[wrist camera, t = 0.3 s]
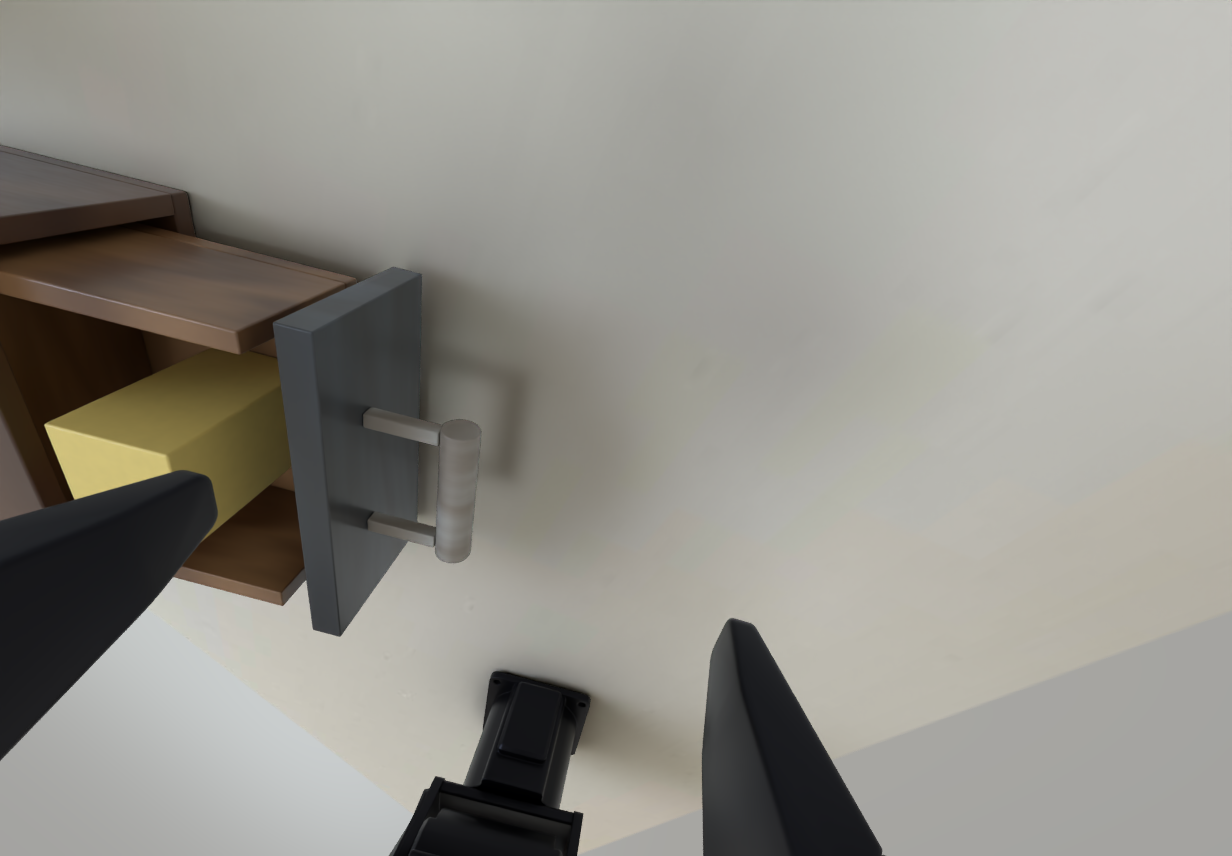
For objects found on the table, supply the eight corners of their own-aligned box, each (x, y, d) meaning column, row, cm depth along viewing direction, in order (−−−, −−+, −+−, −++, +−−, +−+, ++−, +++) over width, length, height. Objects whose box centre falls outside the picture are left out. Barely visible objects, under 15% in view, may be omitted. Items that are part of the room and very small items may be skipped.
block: (319, 444, 24) (192, 550, 18) (235, 423, 24) (81, 521, 18) (311, 366, 22) (166, 456, 16) (220, 342, 22) (41, 423, 16)
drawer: (527, 299, 21) (457, 369, 15) (495, 549, 28) (439, 664, 22) (116, 196, 21) (-111, 224, 15) (186, 468, 28) (48, 560, 22)
